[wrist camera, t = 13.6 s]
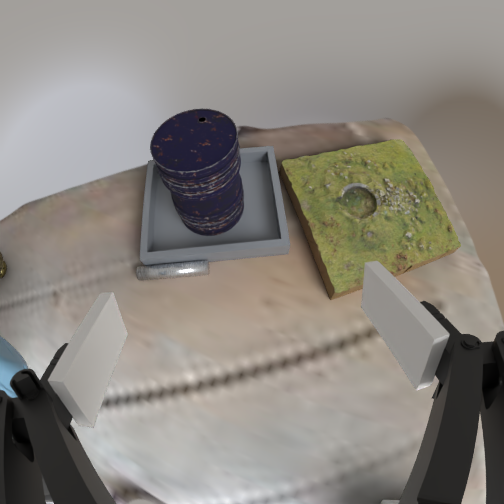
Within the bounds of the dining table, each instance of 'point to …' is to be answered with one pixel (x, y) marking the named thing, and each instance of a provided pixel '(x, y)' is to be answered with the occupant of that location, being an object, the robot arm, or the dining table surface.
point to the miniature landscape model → (367, 212)
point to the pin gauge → (173, 270)
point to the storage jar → (201, 169)
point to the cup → (2, 266)
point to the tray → (231, 242)
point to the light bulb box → (390, 501)
